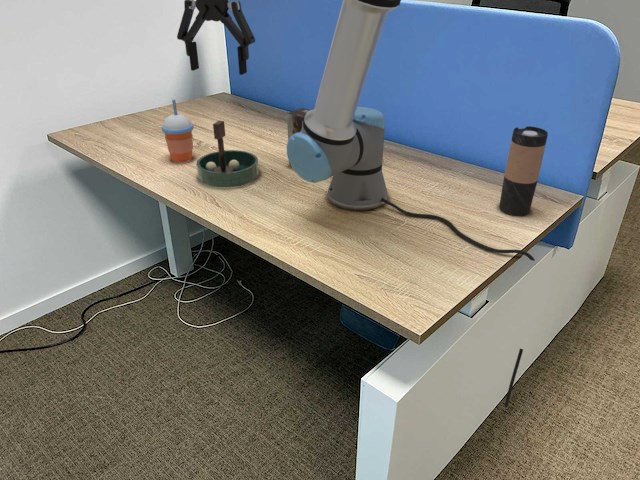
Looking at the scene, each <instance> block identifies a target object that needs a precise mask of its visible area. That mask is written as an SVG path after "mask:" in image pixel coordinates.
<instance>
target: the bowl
mask: <svg viewBox="0 0 640 480" xmlns="http://www.w3.org/2000/svg"><path fill="white" fill-rule="evenodd" d="M224 153H225V163H226V166H229V162H230V161H231V160H237V161H238V162H239V168H238V169H237V170H233V172H213V171H208V170H206V164H207V163H208V162H214V163H215V164H216V166H217V167H220V159H219V150H217V151H213V152H209V153H207V154H204V155H202V156H201V157H199V158H198V160H197V161H196V171H197V172H196V173H197V179H198V180H199V181H200V182H201V183H202V184H204V185H207V186H211V187H217V188H233V187H239V186H243V185H246V184H249V183H251V182H254V180H256V179H257V178H258V177H259V175H260V167H259V166H260V165H259V158H258V156H257V155H256V154H254V153H252V152H249V151H246V150H239V149H238V150H236V149H234V150H233V149H226V150H225V149H224Z"/></svg>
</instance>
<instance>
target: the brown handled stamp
mask: <svg viewBox="0 0 640 480" xmlns="http://www.w3.org/2000/svg"><path fill="white" fill-rule="evenodd" d="M225 127H226V126H225V121H224V120H217V121H216V122H214V123H213V124H212V129H213V137H214V140H217V151H219V159H220V167H217V168H215V169H214V172H233V168H232V167H229V166H226V163H225V153H224V150H225V144H224V138H225V137H226V128H225Z"/></svg>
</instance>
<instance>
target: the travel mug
mask: <svg viewBox="0 0 640 480" xmlns="http://www.w3.org/2000/svg"><path fill="white" fill-rule="evenodd" d="M548 135H549V133H548V131H547V130H546V129H543V128H541V127H537V126H531V125H530V126H526V127H523V128H519V127H515V128H513V129H512V135H511V140H510V145H509V149H508V155H507V160H506V164H505V169H504V174H503V181H502V186H501V187H502V188H501V193H500V199H499V210H500V211H501V212H503V213H504V214H506V215H509V216H515V217H523V216H526V215H528V214H529V212H530V211H531V207H532V203H533V199H534V197H535V192H536V190H537V189H536V188H537V185H538V182H539V181H538V180H539V178H540V177H539V176H540V172H541V167H542V162H543V159H544V154H545V149H546V146H547V145H546V144H547V140H548Z"/></svg>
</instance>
